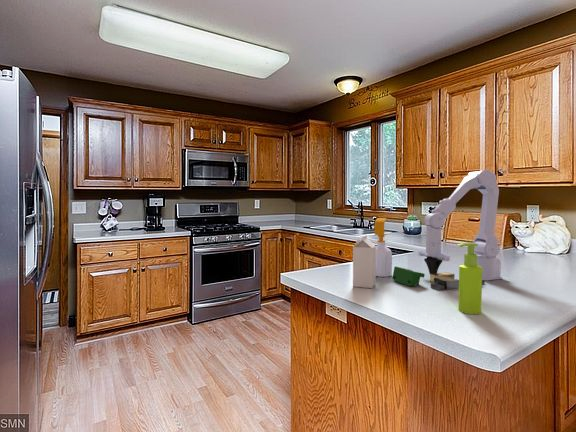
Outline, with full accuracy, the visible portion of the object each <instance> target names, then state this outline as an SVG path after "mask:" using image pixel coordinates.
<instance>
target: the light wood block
mask: <svg viewBox="0 0 576 432" xmlns="http://www.w3.org/2000/svg"><path fill="white" fill-rule="evenodd" d="M434 278H439V279H443V280H454V279H455V273H452V272H447V271H446V272H437V273H435V274H430V273H429V282H431V283H434Z"/></svg>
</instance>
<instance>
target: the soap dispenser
mask: <svg viewBox="0 0 576 432" xmlns="http://www.w3.org/2000/svg"><path fill="white" fill-rule="evenodd" d="M456 246H457V247H460V248H461V247H467V252H466V253H464V255H463V259H464V261H463V264H461V265H458V266H459V269H458V270H459V271H458V272H459V273H458V280H459V288H458V311H460V312H462V313H464V314H470V315H480V314H481V313H482V296H483V293H482V292H483V291H482V290H483V289H482V288H483V284H482V267H480V266H477V257H478V256H477V255H476V254H475V252H474V246H478V244H475V243H473V242H461V243H457V244H456Z"/></svg>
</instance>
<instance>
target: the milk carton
mask: <svg viewBox="0 0 576 432" xmlns="http://www.w3.org/2000/svg"><path fill="white" fill-rule="evenodd" d="M367 236H368V235H367V234H365V235H364V236H362V237H361V238H362V239H361V238H358V239H357V240H355V243H356V244H355V245H354V246H353V247H352V287H353V288H354V287H357V288H363V289H365V288H366V289H373V288H374V287H375V286H376V276H375V268H376V246H377V245H376V244H374V243H373V242H372V241H371V240H370V239H369V238H368V237H367Z"/></svg>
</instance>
